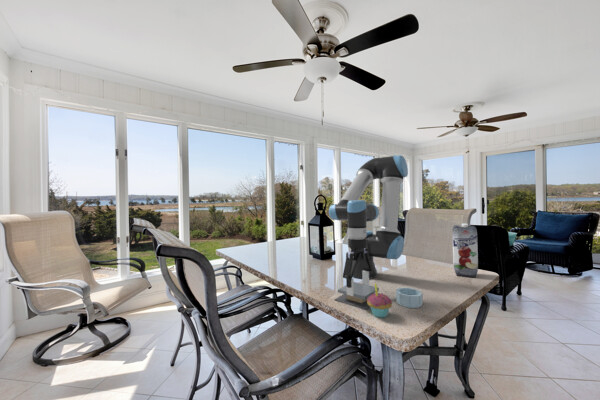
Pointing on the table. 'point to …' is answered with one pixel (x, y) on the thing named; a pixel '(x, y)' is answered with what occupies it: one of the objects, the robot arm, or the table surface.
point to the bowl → (409, 297)
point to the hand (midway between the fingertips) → (358, 290)
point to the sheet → (360, 290)
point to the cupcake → (379, 303)
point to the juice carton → (465, 250)
